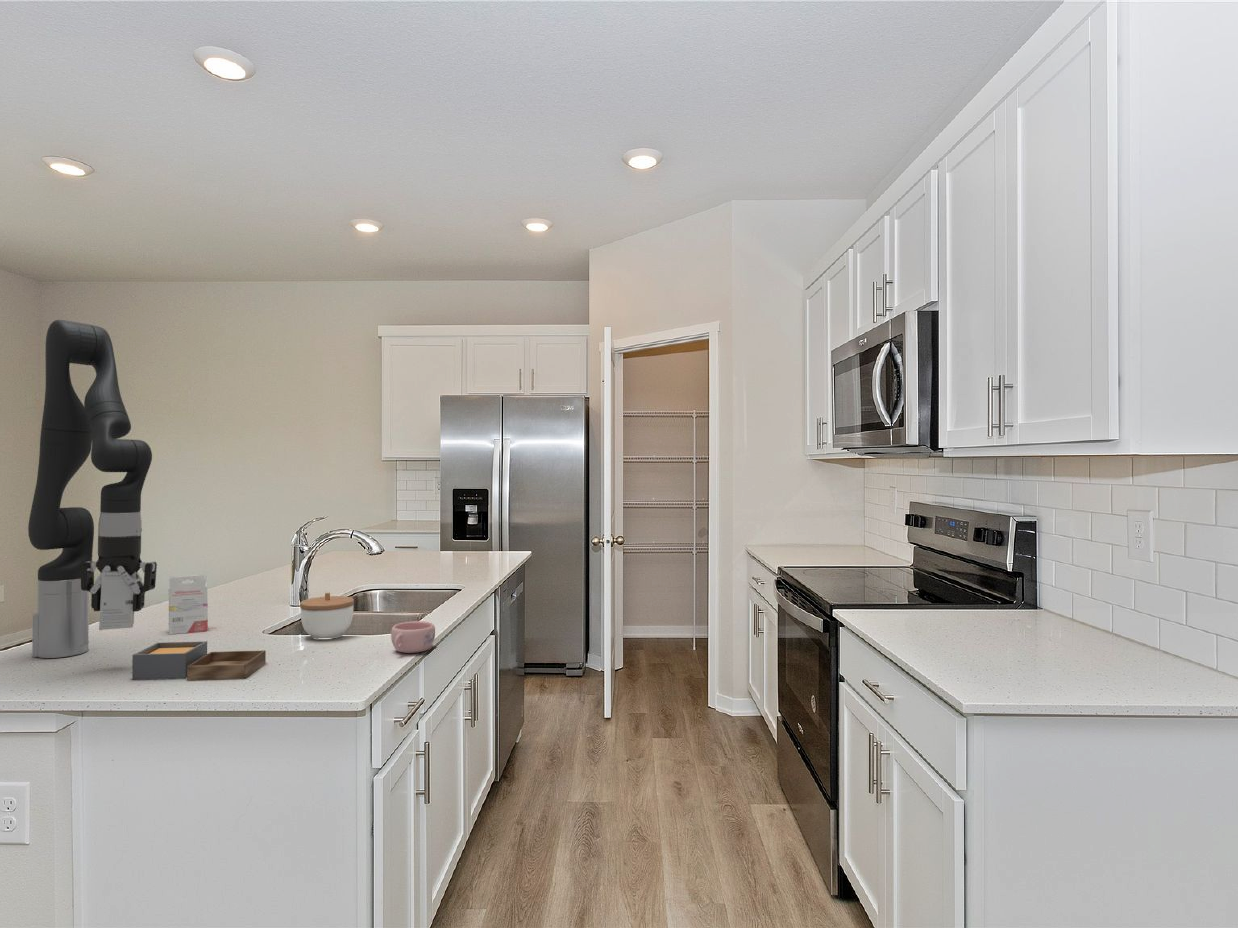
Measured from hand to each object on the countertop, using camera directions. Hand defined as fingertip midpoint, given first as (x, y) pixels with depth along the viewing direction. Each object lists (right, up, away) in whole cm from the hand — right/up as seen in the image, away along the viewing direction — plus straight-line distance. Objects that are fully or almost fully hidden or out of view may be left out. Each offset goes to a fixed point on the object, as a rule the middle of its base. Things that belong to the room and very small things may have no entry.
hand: (118, 610), depth 150 cm
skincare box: (0, -4, 0) cm, 4 cm away
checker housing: (+13, -12, -2) cm, 18 cm away
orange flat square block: (+13, -10, -2) cm, 16 cm away
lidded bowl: (+33, -13, +29) cm, 45 cm away
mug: (+58, -13, +15) cm, 61 cm away
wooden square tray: (+24, -12, -2) cm, 27 cm away
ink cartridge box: (-5, -13, +33) cm, 36 cm away
